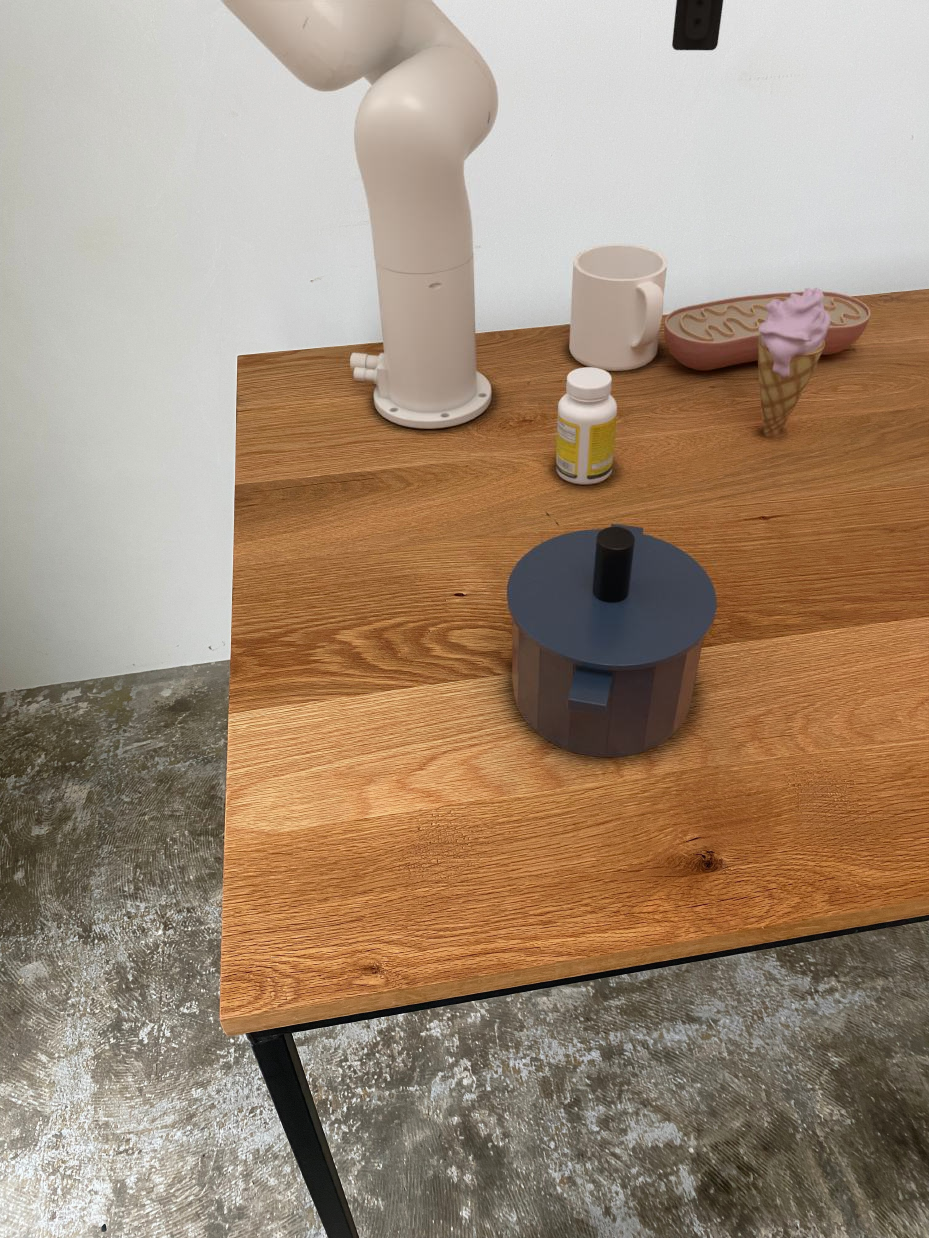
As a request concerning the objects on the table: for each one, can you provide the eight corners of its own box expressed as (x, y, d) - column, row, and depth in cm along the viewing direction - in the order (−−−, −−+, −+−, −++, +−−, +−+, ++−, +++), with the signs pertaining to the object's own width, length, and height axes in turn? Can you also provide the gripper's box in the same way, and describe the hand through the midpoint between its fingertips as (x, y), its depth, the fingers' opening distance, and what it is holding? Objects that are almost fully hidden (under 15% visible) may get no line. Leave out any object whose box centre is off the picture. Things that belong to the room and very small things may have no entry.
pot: (486, 769, 63) (484, 676, 57) (540, 596, 76) (542, 506, 70) (677, 805, 61) (696, 712, 55) (699, 620, 74) (716, 529, 68)
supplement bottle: (615, 458, 91) (623, 365, 84) (608, 489, 87) (617, 395, 81) (559, 452, 92) (563, 361, 85) (551, 483, 88) (554, 389, 82)
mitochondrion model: (677, 390, 100) (683, 347, 97) (645, 349, 107) (650, 307, 104) (874, 364, 103) (887, 321, 100) (831, 325, 110) (841, 284, 107)
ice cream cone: (804, 456, 90) (841, 307, 80) (738, 451, 91) (766, 303, 81) (800, 421, 95) (835, 275, 85) (737, 416, 96) (764, 272, 86)
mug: (553, 342, 109) (556, 255, 102) (626, 324, 112) (634, 238, 105) (609, 390, 101) (617, 297, 94) (687, 368, 104) (700, 277, 97)
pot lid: (485, 657, 59) (483, 591, 56) (530, 529, 69) (531, 465, 65) (706, 694, 57) (720, 626, 53) (720, 555, 66) (733, 489, 62)
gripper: (673, -271, 66) (649, 12, 78) (666, -277, 54) (639, 61, 65) (783, -277, 65) (741, 12, 77) (801, -283, 53) (749, 62, 64)
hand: (694, 34), depth 71 cm, fingers open, 9 cm apart
